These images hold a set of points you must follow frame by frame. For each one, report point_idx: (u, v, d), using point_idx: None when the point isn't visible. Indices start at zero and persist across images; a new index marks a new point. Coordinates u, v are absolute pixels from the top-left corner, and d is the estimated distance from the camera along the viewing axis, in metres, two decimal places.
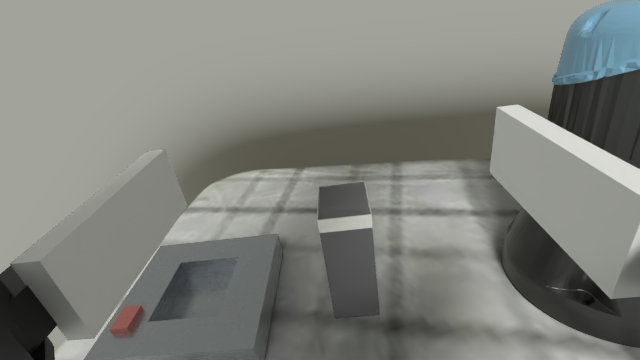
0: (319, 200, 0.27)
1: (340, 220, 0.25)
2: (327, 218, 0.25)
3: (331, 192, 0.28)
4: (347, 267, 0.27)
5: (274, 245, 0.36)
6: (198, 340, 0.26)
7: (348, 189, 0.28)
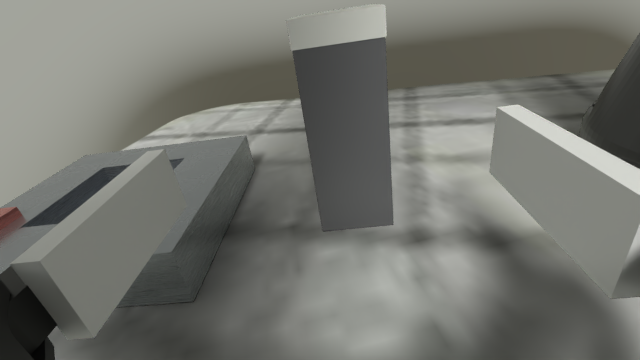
0: None
1: (328, 20, 0.14)
2: (305, 18, 0.14)
3: (316, 13, 0.17)
4: (341, 129, 0.16)
5: (239, 145, 0.25)
6: None
7: (345, 8, 0.17)
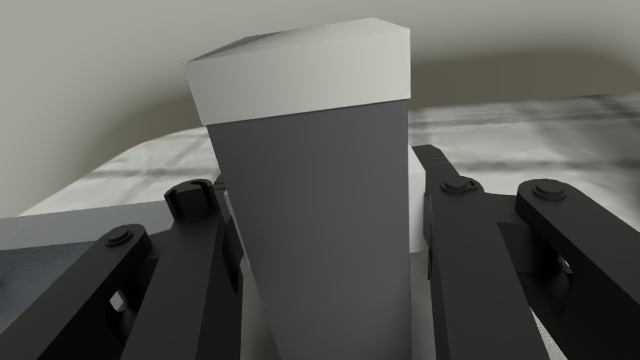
0: (229, 44, 0.08)
1: (279, 62, 0.06)
2: None
3: (274, 35, 0.09)
4: (318, 261, 0.08)
5: None
6: None
7: (327, 26, 0.09)
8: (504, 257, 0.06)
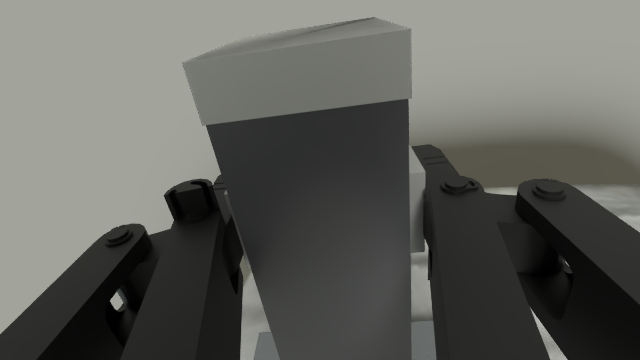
0: (229, 44, 0.08)
1: (279, 62, 0.06)
2: None
3: (274, 35, 0.09)
4: (318, 262, 0.08)
5: None
6: None
7: (327, 26, 0.09)
8: (504, 257, 0.06)
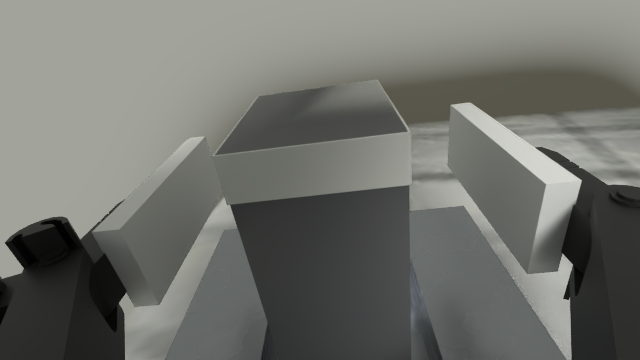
0: (247, 115, 0.09)
1: (296, 156, 0.07)
2: (250, 150, 0.07)
3: (286, 100, 0.10)
4: (327, 314, 0.09)
5: (475, 227, 0.17)
6: None
7: (334, 92, 0.10)
8: None
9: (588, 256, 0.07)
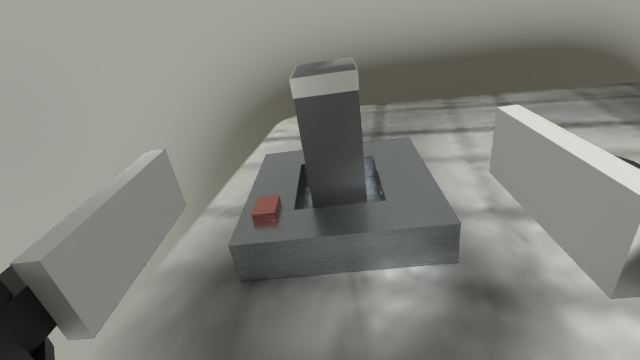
0: (295, 70, 0.22)
1: (318, 79, 0.20)
2: (302, 77, 0.20)
3: (311, 65, 0.23)
4: (329, 152, 0.22)
5: (412, 145, 0.30)
6: (377, 220, 0.20)
7: (332, 62, 0.23)
8: None
9: None
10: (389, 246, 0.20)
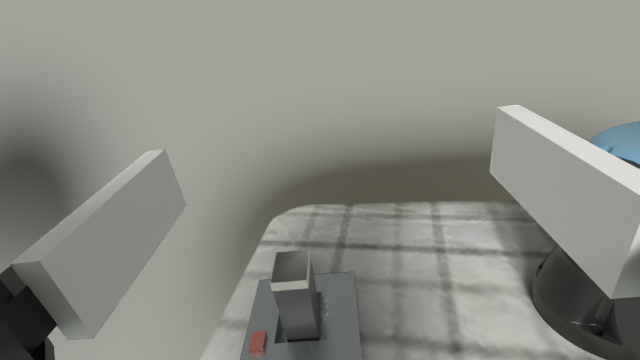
0: (274, 265, 0.38)
1: (286, 283, 0.36)
2: (277, 282, 0.36)
3: (284, 258, 0.39)
4: (293, 313, 0.38)
5: (353, 281, 0.46)
6: (319, 358, 0.37)
7: (296, 256, 0.39)
8: None
9: None
10: None
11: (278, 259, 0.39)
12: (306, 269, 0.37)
